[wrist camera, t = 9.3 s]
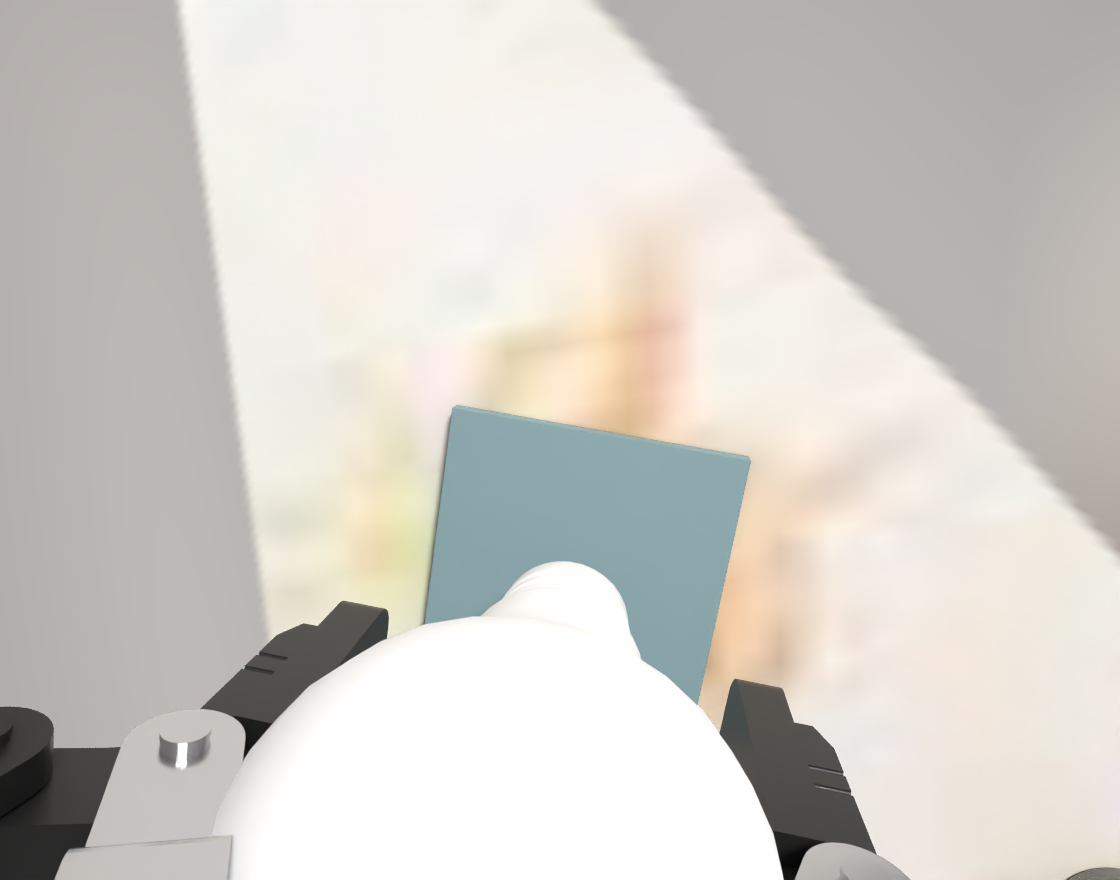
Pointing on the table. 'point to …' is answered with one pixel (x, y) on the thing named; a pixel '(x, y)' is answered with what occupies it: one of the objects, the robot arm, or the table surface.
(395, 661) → the lightbulb
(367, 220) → the table surface
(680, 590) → the mat
